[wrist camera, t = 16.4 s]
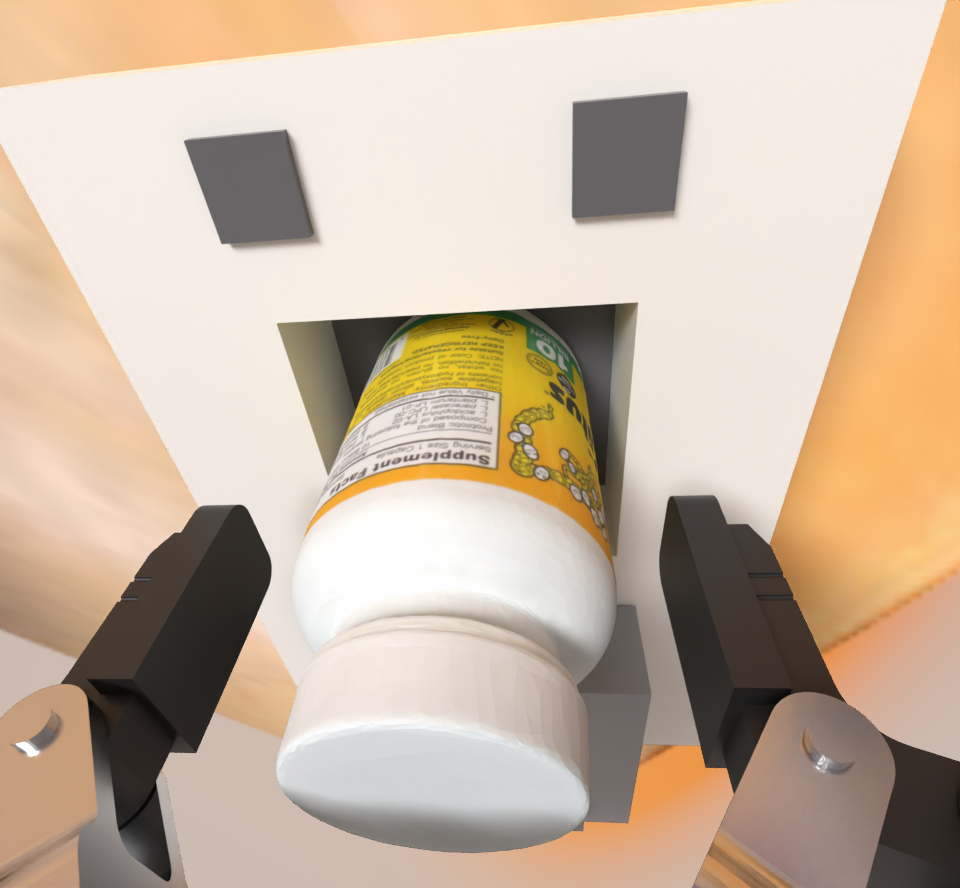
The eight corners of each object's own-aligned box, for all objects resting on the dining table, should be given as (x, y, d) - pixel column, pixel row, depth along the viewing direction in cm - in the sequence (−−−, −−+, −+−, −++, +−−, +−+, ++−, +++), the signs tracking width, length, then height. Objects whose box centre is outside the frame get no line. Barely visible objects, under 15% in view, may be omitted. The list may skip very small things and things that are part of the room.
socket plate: (344, 663, 24) (322, 741, 21) (91, 75, 11) (-39, 93, 9) (684, 667, 22) (705, 751, 20) (846, -10, 10) (962, -17, 7)
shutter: (399, 737, 21) (382, 833, 18) (350, 605, 16) (318, 712, 14) (618, 743, 20) (630, 845, 18) (635, 606, 15) (656, 719, 13)
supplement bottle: (348, 310, 13) (119, 697, 6) (572, 272, 13) (645, 673, 5) (409, 478, 17) (312, 869, 9) (592, 457, 16) (654, 874, 8)
